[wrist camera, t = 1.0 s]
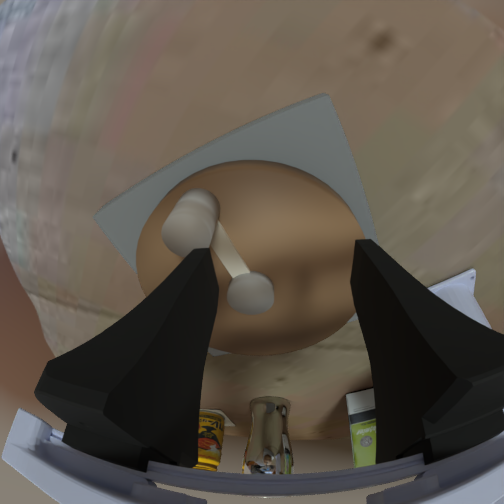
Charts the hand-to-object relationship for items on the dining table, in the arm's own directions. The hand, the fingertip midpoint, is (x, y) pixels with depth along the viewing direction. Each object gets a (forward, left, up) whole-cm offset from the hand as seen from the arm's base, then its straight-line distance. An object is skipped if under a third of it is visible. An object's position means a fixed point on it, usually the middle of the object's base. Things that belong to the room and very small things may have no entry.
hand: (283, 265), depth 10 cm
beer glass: (-31, +14, -10) cm, 35 cm away
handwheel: (-5, +4, -7) cm, 10 cm away
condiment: (-34, +27, -10) cm, 45 cm away
